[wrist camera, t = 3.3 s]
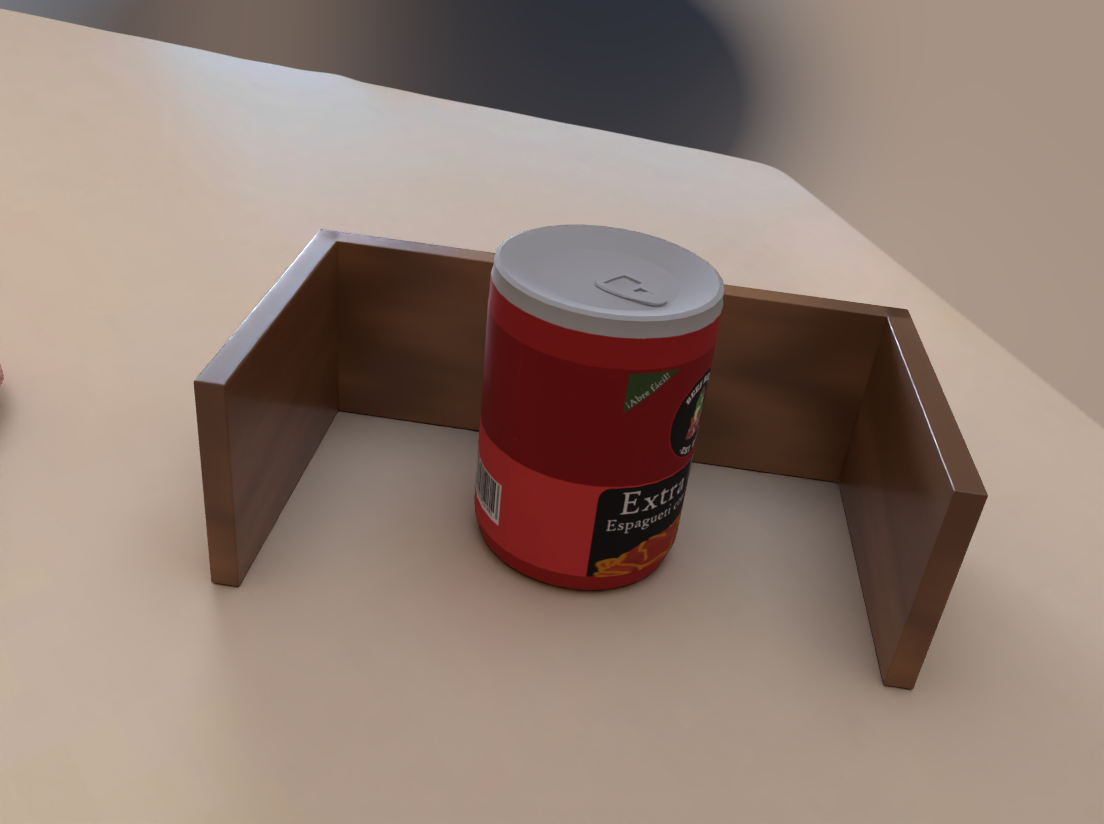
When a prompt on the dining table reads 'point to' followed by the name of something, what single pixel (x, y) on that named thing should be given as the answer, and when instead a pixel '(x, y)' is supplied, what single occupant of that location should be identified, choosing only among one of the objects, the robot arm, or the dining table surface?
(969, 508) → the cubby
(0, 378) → the fruit slice
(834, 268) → the dining table surface
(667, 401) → the canned food
